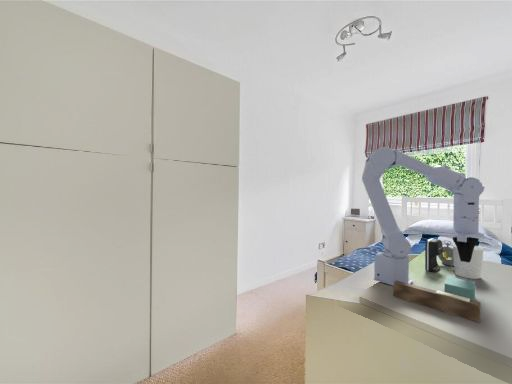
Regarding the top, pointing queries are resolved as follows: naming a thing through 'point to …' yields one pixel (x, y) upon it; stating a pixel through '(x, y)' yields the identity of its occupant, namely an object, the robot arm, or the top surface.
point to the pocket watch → (447, 255)
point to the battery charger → (432, 254)
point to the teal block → (460, 287)
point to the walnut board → (439, 300)
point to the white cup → (468, 264)
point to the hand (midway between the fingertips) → (465, 261)
